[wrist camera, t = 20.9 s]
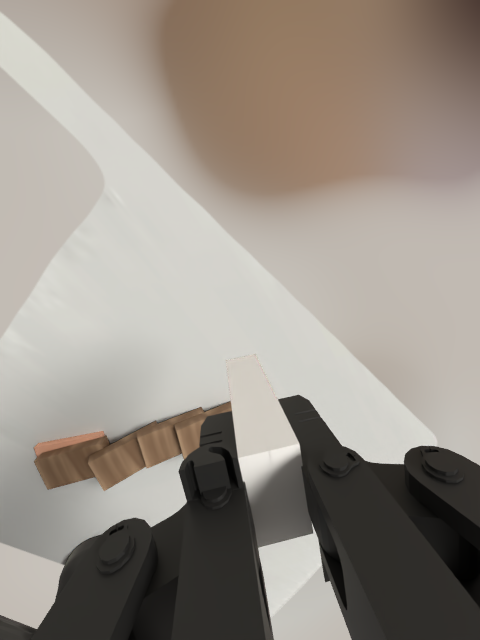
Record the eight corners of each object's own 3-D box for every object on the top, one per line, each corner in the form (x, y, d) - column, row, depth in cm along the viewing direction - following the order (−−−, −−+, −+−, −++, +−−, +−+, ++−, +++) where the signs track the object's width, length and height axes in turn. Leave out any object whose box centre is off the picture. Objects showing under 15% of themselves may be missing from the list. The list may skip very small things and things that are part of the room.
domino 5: (238, 404, 40) (176, 430, 36) (244, 432, 41) (184, 461, 37) (234, 399, 41) (174, 424, 38) (240, 427, 43) (182, 454, 39)
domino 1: (100, 435, 39) (33, 447, 39) (108, 463, 40) (44, 476, 40) (105, 428, 41) (41, 440, 40) (113, 455, 42) (51, 467, 41)
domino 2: (101, 443, 38) (33, 461, 37) (113, 471, 39) (47, 489, 38) (106, 435, 39) (42, 452, 39) (117, 463, 40) (55, 480, 40)
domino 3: (157, 426, 39) (87, 463, 35) (169, 452, 40) (104, 491, 37) (155, 420, 41) (89, 455, 37) (167, 446, 42) (104, 482, 38)
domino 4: (204, 412, 40) (137, 438, 36) (211, 440, 41) (146, 468, 37) (201, 406, 41) (137, 431, 38) (208, 434, 42) (146, 460, 39)
